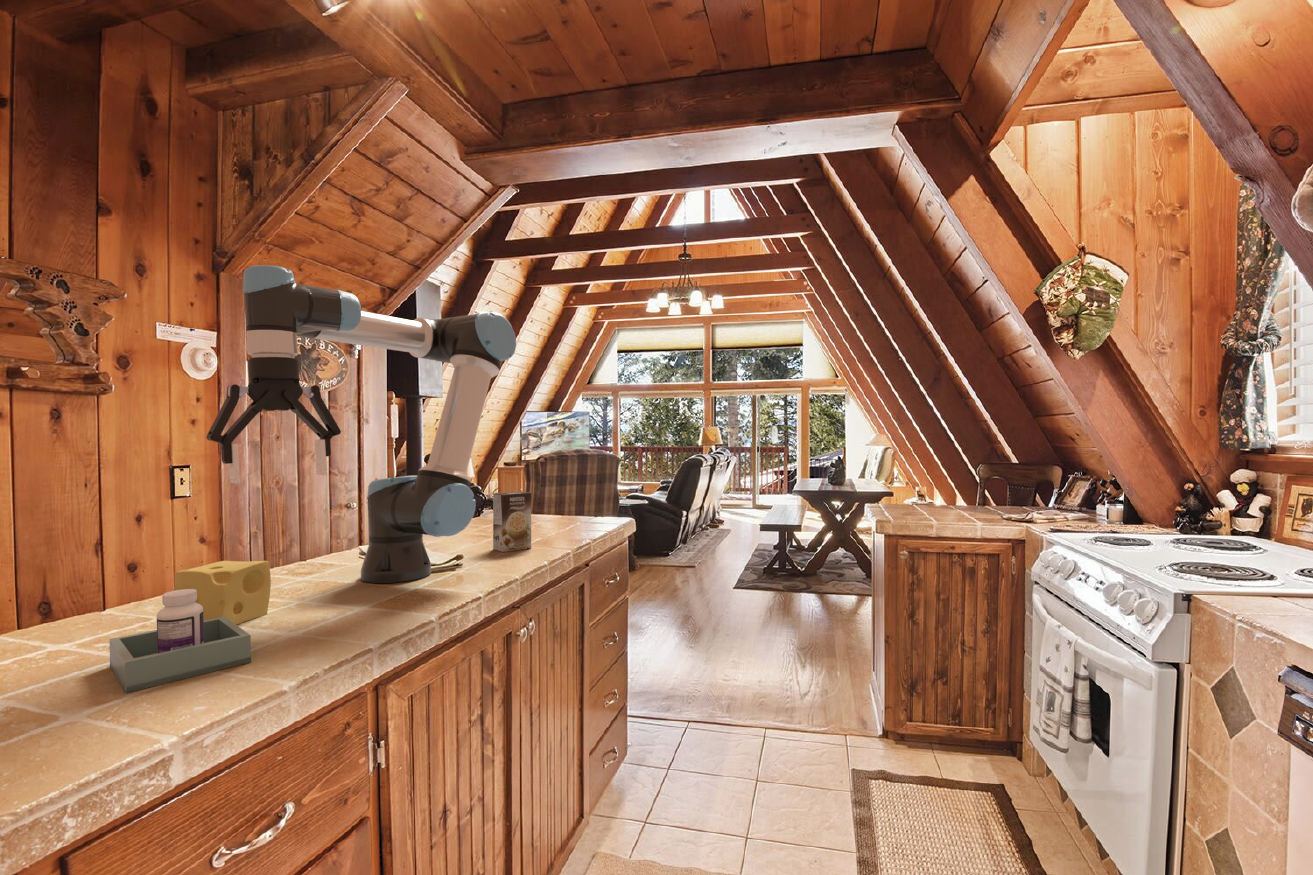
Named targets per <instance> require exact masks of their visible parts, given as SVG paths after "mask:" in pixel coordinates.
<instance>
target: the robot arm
mask: <svg viewBox="0 0 1313 875" xmlns="http://www.w3.org/2000/svg"><path fill="white" fill-rule="evenodd" d="M242 295H243V301H244V304H243V306H244V316H245V330H246V349H247V352H246V353H247V354H248V355H249V356H251V357H250V358H249V359H247V367H248V368H247V369H248V370H247V371H248V384H247V386H242V385H238V384H236V383H235V384H231V385H228V386H227V387H226V398H225V400H224V402H223V404H222V406H221V408H220V409H219V411H218V414H216V417H215V419H214V421H213V423H212V425H211V426H210V428H209V430H208V433H207V435H206V440H207V441H210V442H213V443H214V442H215V443H217V444H219V445H220V456H221V462H222V464H225V465H227V464H228V470H229V483H230V484H235V485H237V484H241V475H240V474H241V472H240V457H239V444H238V443H233V441H235V439H236V438H237V437H238V436H239V435H240V434H241V433H242V432H243V430H245V428H246V427H247V426H248V425H249V424H250V422H251V421H252V420H254V418H255V417H257V415H258V414H259V413H260V412H261V411H264V412H272V411H279V412H283V411H284V412H285V411H289V410H290V411H291V413H294V414H295V415H296V416H297V417H298V418H299V419H300V420H301V421H302V422H303V423H304V424H305V425H307V426H308V428H309V429H310V430H311V431H312V432H313V433H314V434H315V435H316V436H317V437H319V439H314V452H315V468H316V475H317V476H327V474H328V472H327V470H328V469H327V457H331V454H332V452H331V451H332V450H331V439H333V437H336V436H339V435H340V434H341V432H342V431H341V430H342V429H340V426H339V425H338V423H337V422H336V420H335V419H334V416H333V414H332V413H331V411H330V410H329V408H328V407H327V405H326V403H325V401H324V400H323V398H322V395H321V394H322V393H321V389H320V386H319V385H317V384H315V385H308V386H301V384H300V368H299V367H300V366H299V365H300V364H299V360H298V359H297V358H295V357H297V356H298V355H299V347H298V338H299V337H300V338H306V339H316V340H323V341H329V342H330V341H331V342H336V343H344V344H352V345H356V346H357V345H358V346H362V347H363V346H365V347H372V348H378V349H384V350H392V351H399V352H406V353H409V354H410V355H411V356H412V357H414V358H418V359H425V360H430V361H431V360H432V361H434V362H435V361H436V362H440V363H446V364H451V365H452V366H453V372H452V375H451V376H452V377H451V380H450V382H449V387H448V391H447V394H446V398H445V400H444V405H443V409H442V411H441V414H440V415H441V416H440V420H439V422H438V426H437V430H436V434H435V435H434V436H435V437H434V440H433V443H432V447H431V451H430V453H429V454H430V455H429V458H428V461H427V464H426V465H424V466H422V467H421V468H419V469H418V471H417V474H416V475H405V476H404V475H403V476H395V477H387V478H379V479H374V480H372V481H370V483H369V484H368V487H367V496H366V500H367V519H368V520H367V521H368V522H367V524H368V525H367V526H368V546H367V550H366V553H365V555H364V558H363V562H362V564H361V568H360V580H361V581H362V582H365V583H368V584H369V583H371V584H392V583H393V584H394V583H402V582H404V583H405V582H409V581H414V580H418V579H422V578H425V577H428V576H429V575H431V574H432V563H431V560H430V558H429V555H428V552H427V549H426V546H425V544H424V540H423V537H424V535H425V536H431V537H435V538H436V537H437V538H440V537H452V536H455V535H457V534H459V533H460V532H462V531H464V530H465V529H466V528H467V527H468V526H469V524H470V523H471V521H472V519H473V518H474V515H475V512H476V506H477V505H476V503H477V502H476V499H475V498H474V497H475V494H474V492H473V490H472V489H471V488H470V487H471V484H472V483H471V482H472V481H471V479H470V477H469V475H468V474H467V472H468V467H469V463H470V460H471V456H472V452H473V448H474V446H475V444H474V443H475V441H476V440H475V439H476V436H477V432H478V429H479V425H480V421H481V417H482V413H483V409H484V406H485V402H486V398H487V396H488V395H487V394H488V391H489V387H490V383H491V379H492V378H494V377H496V376H498V375H499V373H500V370H501V367H502V362H505V361H507V360H509V359H510V358H512V357H513V356H514V355H515V353H516V350H517V339H516V334H515V331H514V329H513V326H512V324H511V322H510V321H509V320H508V318H506V317H505V316H504V315H502V314H501V313H499V312H494V311H490V312H486V311H480V312H479V313H475V314H467V315H459V316H451V317H446V318H437V319H429V318H423V317H417V318H415V319H413V320H411V319H408V318H407V319H406V318H401V317H397V316H396V317H395V316H392V315H391V316H390V315H385V314H381V313H375V312H372V311H370V312H369V311H364V310H362V306H361V302H360V300H359V299H358V297H357V296H356V295H354V294H353V293H351V292H347V291H345V290H344V291H343V290H340V289H339V288H338V289H333V288H332V289H331V288H325V287H319V286H312V285H305V284H300V283H297V282H296V280H295V276H294V273H293V271H292V270H291V269H288V268H286V267H283V266H278V265H268V264H256V265H255V264H254V265H251V266H248V267H246V268H245V269H244V271H243V279H242ZM245 394H247V396H249V398H250V399H251V400H252V402H251V403H250V404H249V405H248V406H247V407H246V409H245V410H244V411H243V413H242V414H241V415H240V416H239V417H238V419H236V421H235V422H233V424H232V425H231V426H230V427H229V428H228V429H227V430H226V431H225V433H223V431H224V430H225V428H226V426H227V423H228V422H229V420H230V418H231V416H232V415H233V412H234V411H235V408H236V406H237V405H238V402H239V399H242V398H244V396H245ZM303 394H304V395H305V398H307V399H309V401H310V404H311V405H312V407H313V408H314V410H315V412H316V413H317V415H318V417H319V419H320V420H321V421H322V423H323V425H324V426H323V425H322V424H321V423H320V421H318V419H316V417H315V416H314V415H313V414H311V413H310V412H309V410H307V409H306V407H305V405H304V404H302V402H301V401H300V400H299V399H300V398H301V397H302V395H303ZM222 433H223V434H222Z"/></svg>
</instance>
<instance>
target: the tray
mask: <svg viewBox="0 0 1313 875" xmlns="http://www.w3.org/2000/svg"><path fill="white" fill-rule="evenodd" d="M203 622H204V643H203V644H199V645H194V646H189V647H185V648H180V649H176V650H171V651H166V652H162V653H158V644H157V629H155V630H154V629H153V630H149V631H144V632H143V631H142V632H138V633H133V634H129V635H123V636H117V637H114V638H113V637H112V638H109V639H108V640H109V668H110V669H111V671H112V672H113V675H114V676H115V678H116V679H117V681H118V683H119V684H120V686H121V688H122V689H123V690H124V692H125V694H129V693H133V692H136V691H141V690H144V689H147V688H148V689H150V688H152V687H157V686H161V685H165V684H168V683H172V682H177V681H181V680H186V679H189V678H193V677H197V676H202V675H206V674H209V673H213V672H218V671H222V670H226V669H230V668H234V667H236V666H242V665H245V664H249V663H250V664H251V662H252V642H251V636H252V635H251V634H250V633H249V632H247V631H245V630H244V629H242V628H241V627H240V626H238V624H237V625H236V624H234V623H233V622H231V621H230V620H229V619H227V618H226V617H220V618H215V619H210V620H205V621H203Z"/></svg>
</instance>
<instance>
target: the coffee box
mask: <svg viewBox="0 0 1313 875" xmlns="http://www.w3.org/2000/svg"><path fill="white" fill-rule="evenodd" d="M492 509H493V510H492V529H493V530H492V549H493V550H494V551H498V552H502V553H505V552H513V551H520V550H521V549H522V550H528V549H527V548H529V549H532V492H530V491H529V492H527V491H509V492H493V494H492Z"/></svg>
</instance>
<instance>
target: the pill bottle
mask: <svg viewBox="0 0 1313 875" xmlns="http://www.w3.org/2000/svg"><path fill="white" fill-rule="evenodd" d="M161 598H162V600H161V602H162V605H163V606H164V607H163V608H162V609H160V610H159V611H158V612H157V613H156V630H157V644H158V653H162V652H166V651H171V650H176V649H180V648H185V647H189V646H194V645H199V644H203V643H204V622H203V607H202V606H201V605H200V604H197V603H195V601H196V600H197V590H196V589H183V590H176V591H175V590H172V591H167V592H165V593H163V594H162V595H161Z"/></svg>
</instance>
